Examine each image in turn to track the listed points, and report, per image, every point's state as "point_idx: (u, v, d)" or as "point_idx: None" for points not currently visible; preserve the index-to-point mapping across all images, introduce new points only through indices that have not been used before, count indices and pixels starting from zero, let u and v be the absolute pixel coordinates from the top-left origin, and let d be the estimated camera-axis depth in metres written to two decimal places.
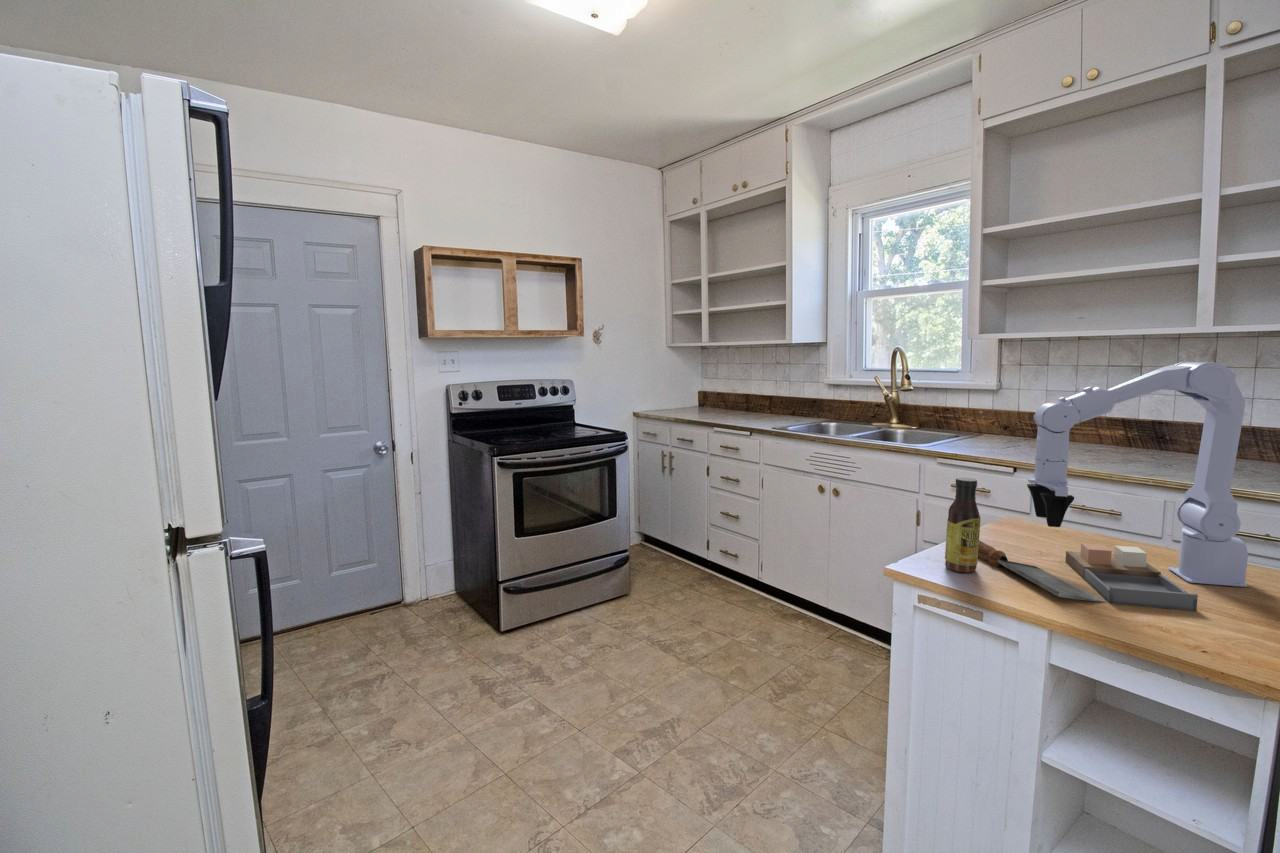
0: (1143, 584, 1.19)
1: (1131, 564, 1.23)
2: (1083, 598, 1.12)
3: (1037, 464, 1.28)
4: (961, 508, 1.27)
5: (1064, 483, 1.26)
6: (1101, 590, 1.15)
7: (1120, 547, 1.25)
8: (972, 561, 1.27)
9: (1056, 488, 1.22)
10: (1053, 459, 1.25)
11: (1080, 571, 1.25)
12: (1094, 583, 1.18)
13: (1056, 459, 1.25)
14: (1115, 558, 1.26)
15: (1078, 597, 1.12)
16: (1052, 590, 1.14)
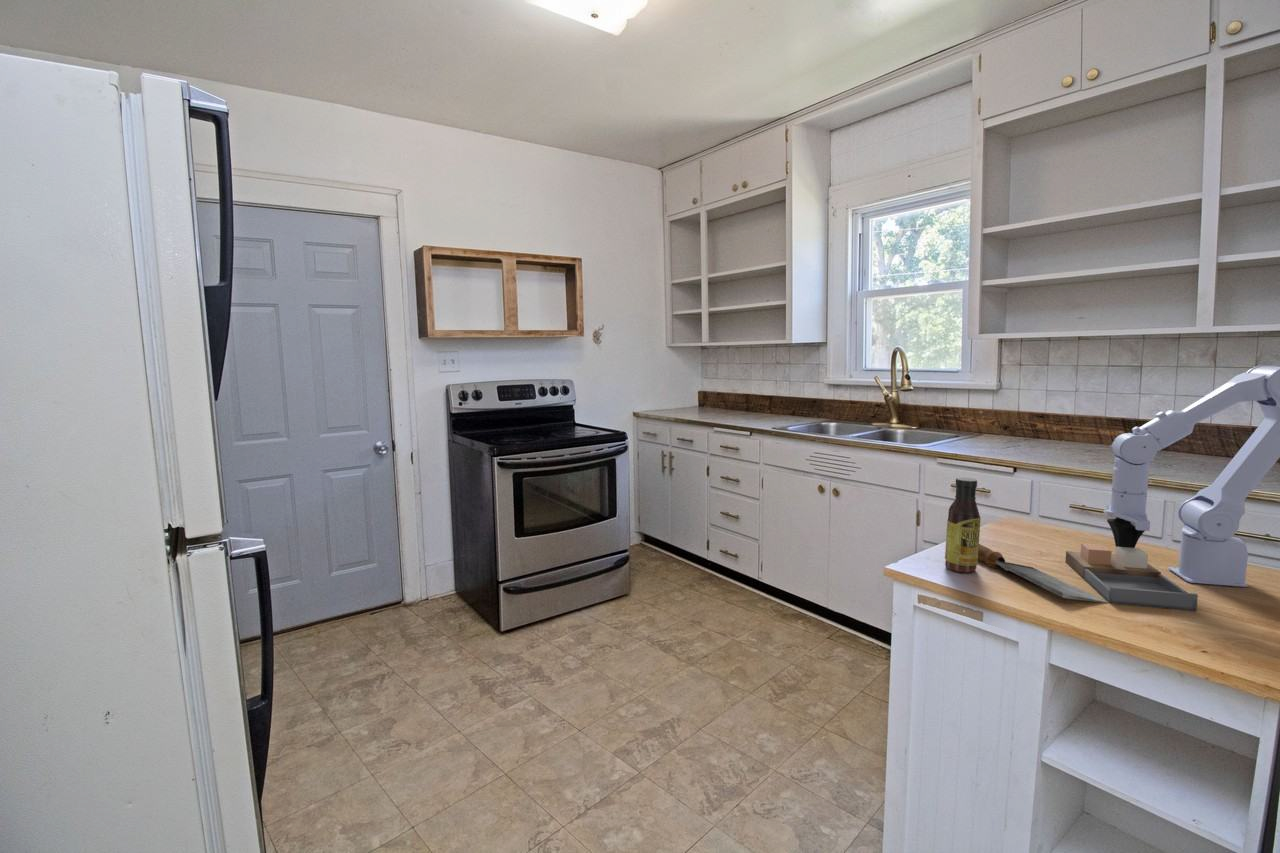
0: (1143, 584, 1.19)
1: (1132, 565, 1.22)
2: (1086, 599, 1.11)
3: (1114, 496, 1.25)
4: (961, 508, 1.27)
5: (1143, 516, 1.23)
6: (1101, 590, 1.15)
7: (1121, 548, 1.25)
8: (972, 561, 1.27)
9: (1137, 522, 1.19)
10: (1131, 491, 1.23)
11: (1080, 571, 1.25)
12: (1094, 583, 1.18)
13: (1134, 491, 1.22)
14: (1116, 559, 1.26)
15: (1081, 598, 1.11)
16: (1055, 591, 1.13)
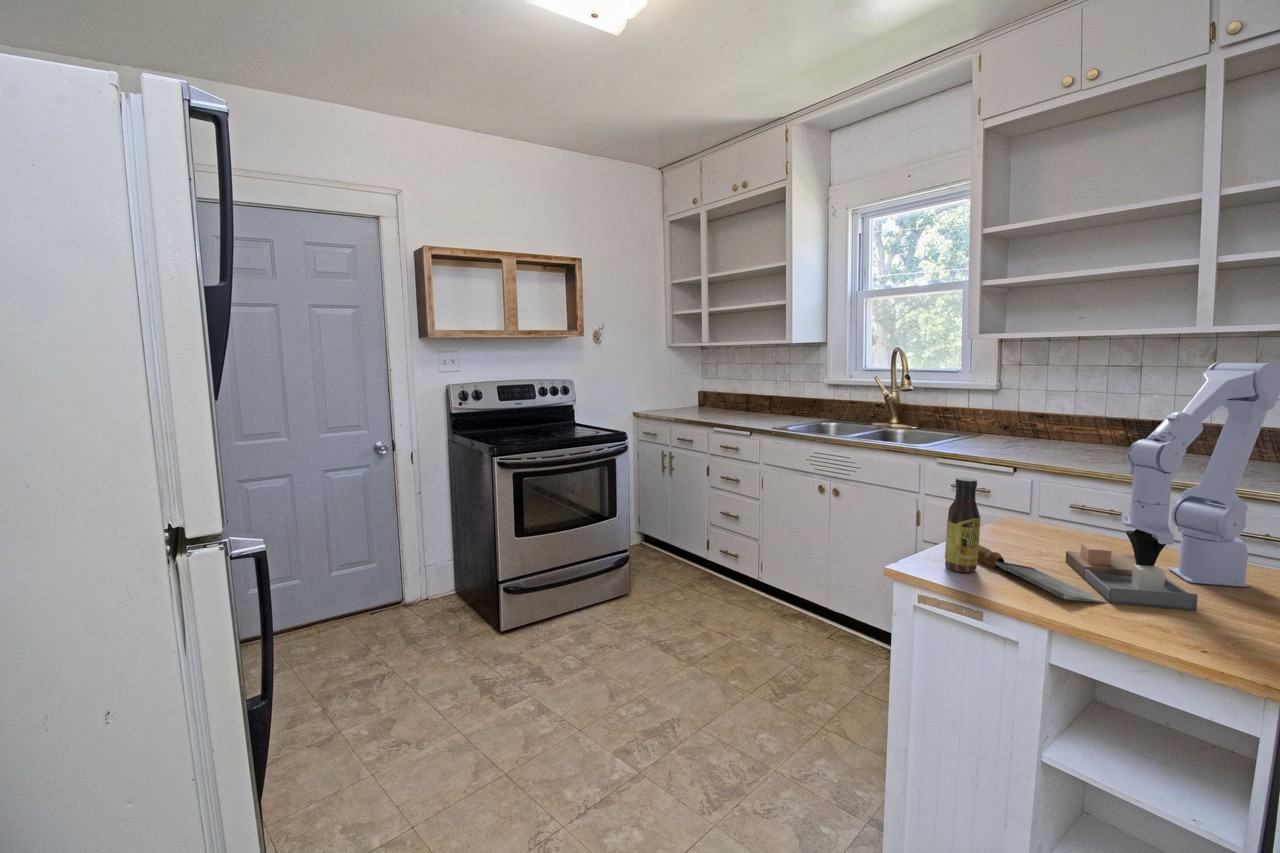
0: None
1: None
2: (1087, 599, 1.11)
3: (1134, 506, 1.17)
4: (961, 508, 1.27)
5: (1166, 528, 1.14)
6: (1101, 590, 1.15)
7: (1143, 575, 1.15)
8: (972, 561, 1.27)
9: (1160, 535, 1.11)
10: (1164, 502, 1.14)
11: (1080, 571, 1.25)
12: (1094, 583, 1.18)
13: (1166, 502, 1.14)
14: (1133, 569, 1.18)
15: (1082, 598, 1.11)
16: (1056, 592, 1.12)
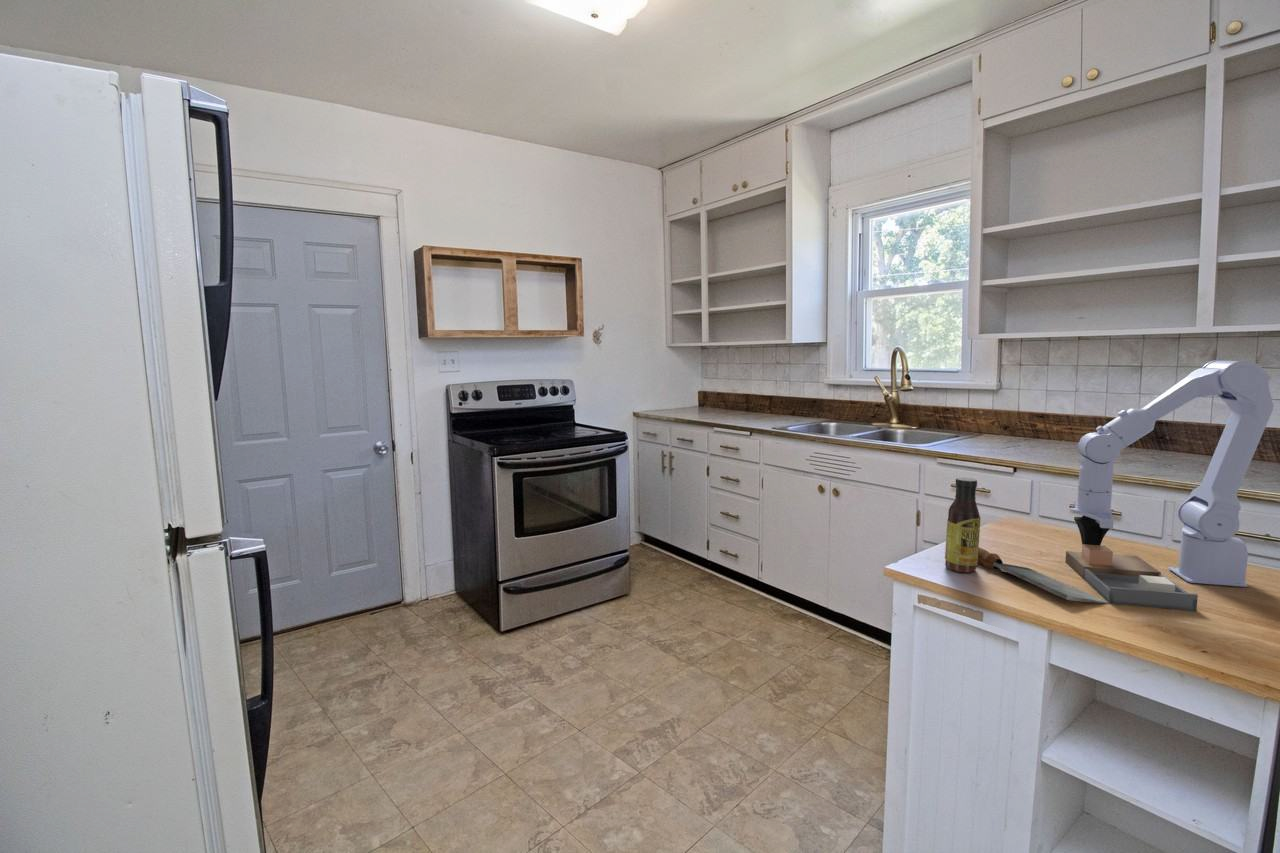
0: None
1: None
2: (1089, 600, 1.11)
3: (1080, 494, 1.27)
4: (961, 508, 1.27)
5: (1108, 514, 1.25)
6: (1101, 590, 1.15)
7: None
8: (972, 561, 1.27)
9: (1101, 520, 1.21)
10: (1096, 490, 1.25)
11: (1080, 571, 1.25)
12: (1094, 583, 1.18)
13: (1100, 490, 1.24)
14: (1146, 583, 1.13)
15: (1085, 599, 1.11)
16: (1059, 593, 1.12)
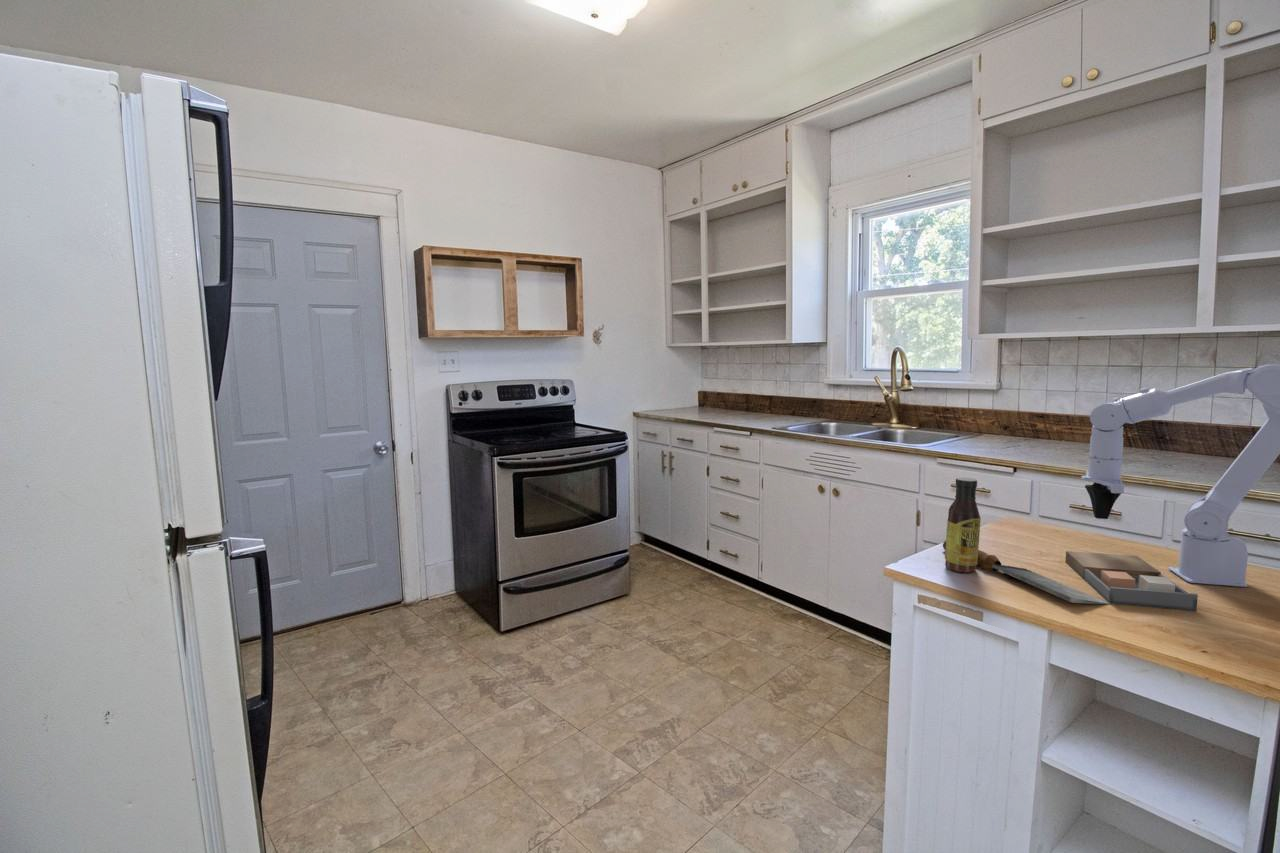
0: None
1: None
2: (1092, 602, 1.10)
3: (1091, 462, 1.32)
4: (961, 508, 1.27)
5: (1119, 480, 1.29)
6: (1101, 590, 1.15)
7: None
8: (972, 561, 1.27)
9: (1112, 485, 1.26)
10: (1100, 456, 1.30)
11: (1080, 571, 1.25)
12: (1094, 583, 1.18)
13: (1103, 457, 1.29)
14: (1146, 583, 1.13)
15: (1088, 601, 1.10)
16: (1062, 595, 1.11)
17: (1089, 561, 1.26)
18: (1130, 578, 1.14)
